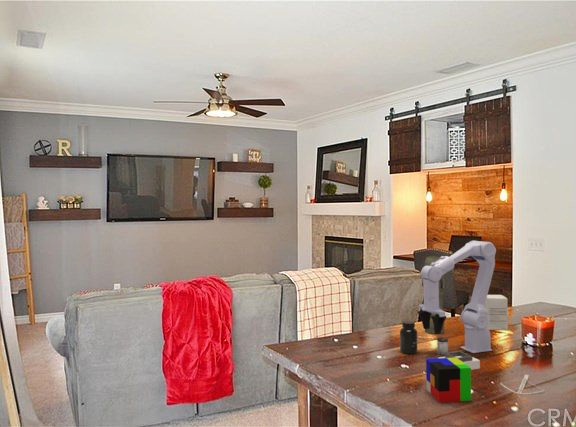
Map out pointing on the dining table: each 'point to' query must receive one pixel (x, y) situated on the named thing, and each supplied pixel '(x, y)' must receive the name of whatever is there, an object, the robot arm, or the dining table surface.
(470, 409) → the dining table surface
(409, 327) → the supplement bottle
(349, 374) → the dining table surface
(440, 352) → the lens
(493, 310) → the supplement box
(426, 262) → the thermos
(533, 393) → the crossbow
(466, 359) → the camera body
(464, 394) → the puzzle toy
